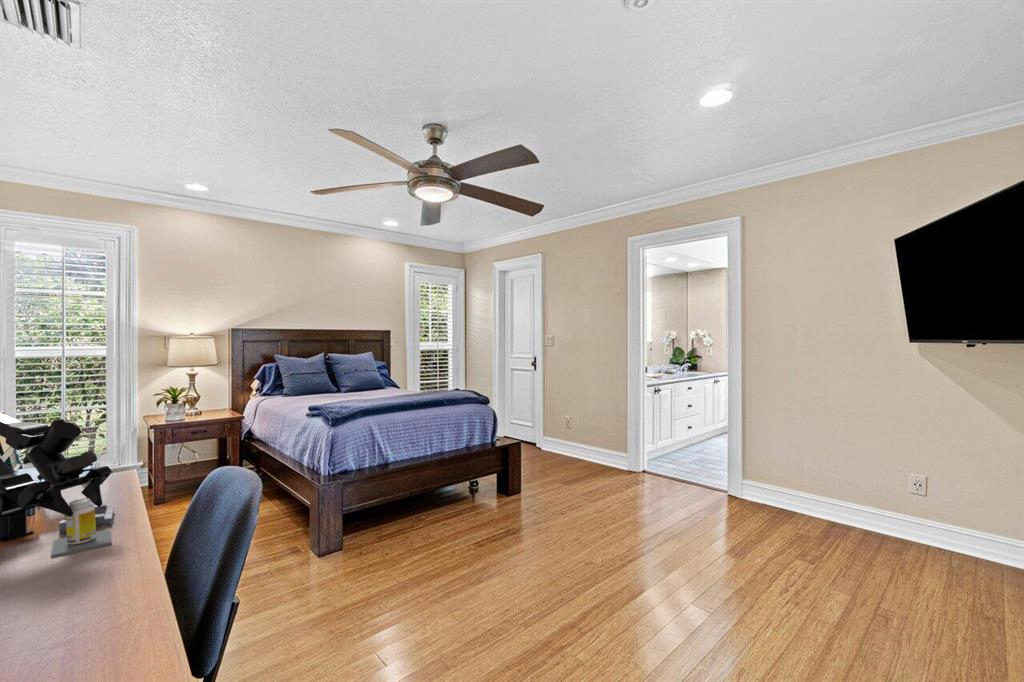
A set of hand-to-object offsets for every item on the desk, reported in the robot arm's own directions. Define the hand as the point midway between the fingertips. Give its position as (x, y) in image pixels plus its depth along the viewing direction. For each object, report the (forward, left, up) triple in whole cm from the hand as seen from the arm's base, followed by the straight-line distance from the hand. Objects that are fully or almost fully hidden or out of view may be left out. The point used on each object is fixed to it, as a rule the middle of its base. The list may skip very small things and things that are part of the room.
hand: (86, 510), depth 121 cm
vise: (-14, +8, -9) cm, 18 cm away
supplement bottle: (-1, 0, -8) cm, 8 cm away
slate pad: (-1, 0, -9) cm, 9 cm away
